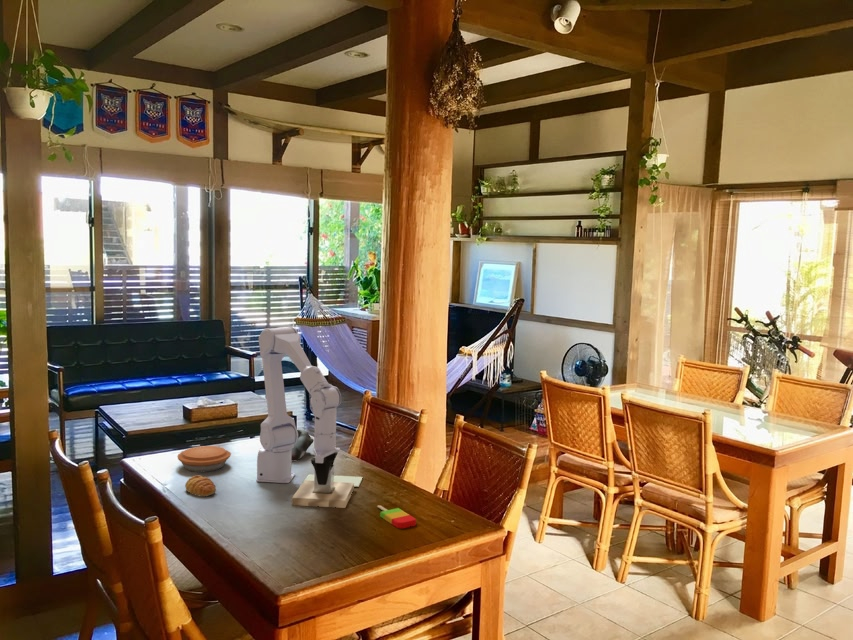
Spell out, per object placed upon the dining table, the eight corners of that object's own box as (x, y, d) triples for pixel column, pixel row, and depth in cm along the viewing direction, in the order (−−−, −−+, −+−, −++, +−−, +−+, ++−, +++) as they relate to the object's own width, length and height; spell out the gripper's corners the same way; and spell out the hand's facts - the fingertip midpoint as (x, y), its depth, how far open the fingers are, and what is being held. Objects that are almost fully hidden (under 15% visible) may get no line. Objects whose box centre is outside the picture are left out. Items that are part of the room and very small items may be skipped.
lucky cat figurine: (297, 463, 221) (275, 425, 218) (269, 472, 227) (248, 435, 224) (320, 439, 234) (300, 402, 231) (294, 447, 240) (273, 412, 237)
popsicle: (399, 531, 173) (399, 523, 173) (369, 510, 185) (369, 504, 185) (418, 526, 176) (418, 519, 176) (387, 507, 188) (387, 500, 188)
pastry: (222, 494, 193) (222, 480, 193) (199, 500, 188) (199, 486, 188) (204, 485, 200) (204, 472, 199) (182, 491, 195) (182, 477, 194)
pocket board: (292, 505, 186) (292, 497, 186) (304, 487, 200) (304, 480, 200) (345, 508, 185) (345, 500, 185) (353, 489, 199) (353, 482, 199)
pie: (201, 477, 205) (201, 461, 205) (166, 467, 214) (166, 451, 213) (241, 465, 218) (241, 449, 218) (207, 455, 227) (207, 440, 226)
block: (314, 494, 191) (314, 468, 190) (317, 488, 195) (318, 463, 194) (330, 495, 190) (330, 469, 190) (333, 489, 195) (334, 464, 194)
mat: (302, 484, 202) (302, 483, 202) (308, 475, 210) (308, 474, 210) (358, 487, 201) (358, 486, 201) (362, 478, 209) (362, 476, 209)
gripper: (334, 440, 184) (333, 491, 185) (344, 426, 198) (343, 473, 199) (307, 438, 184) (306, 489, 185) (319, 424, 198) (318, 472, 200)
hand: (324, 481), depth 192 cm, fingers closed on block, 4 cm apart
